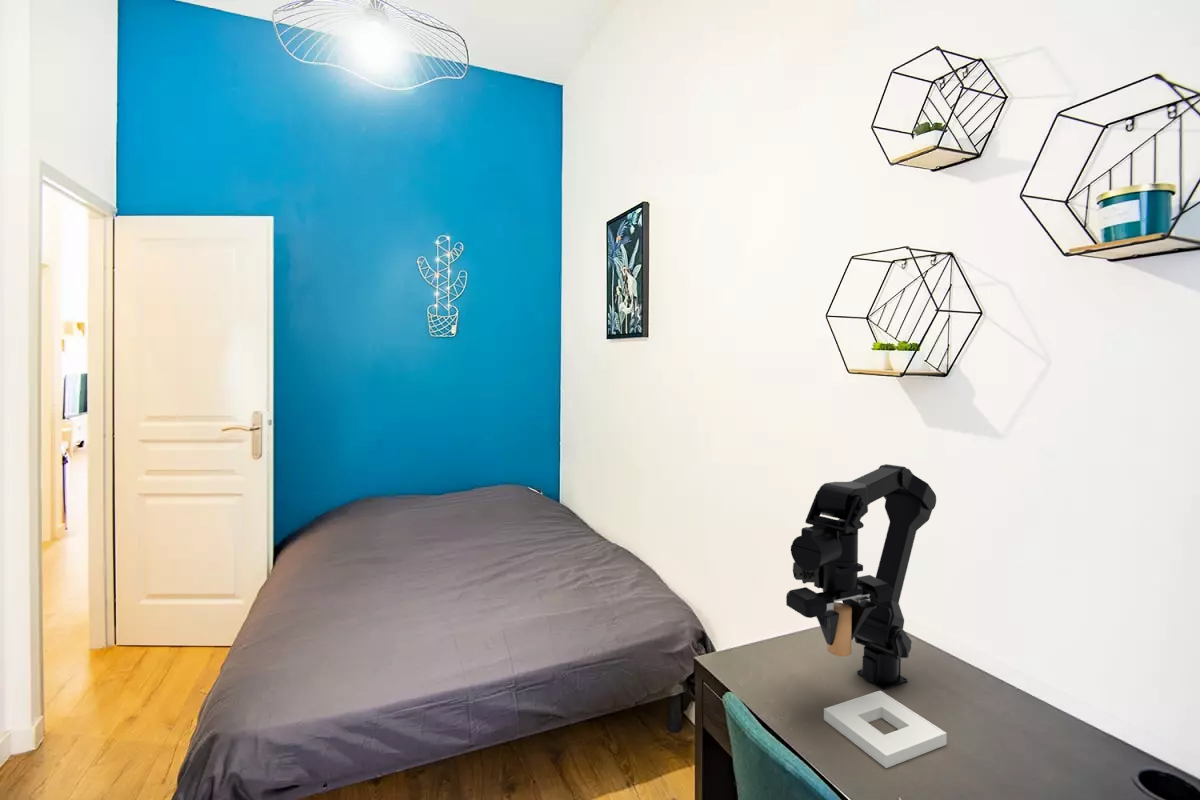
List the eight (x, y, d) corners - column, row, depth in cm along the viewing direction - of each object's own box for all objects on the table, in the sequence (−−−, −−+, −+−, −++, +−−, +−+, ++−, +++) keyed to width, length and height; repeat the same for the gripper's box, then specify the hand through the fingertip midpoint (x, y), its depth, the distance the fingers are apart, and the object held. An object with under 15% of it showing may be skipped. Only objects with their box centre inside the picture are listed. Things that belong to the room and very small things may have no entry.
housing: (880, 701, 106) (880, 690, 106) (946, 744, 94) (946, 732, 94) (823, 719, 101) (823, 708, 101) (886, 768, 89) (886, 755, 89)
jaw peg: (839, 643, 107) (840, 600, 106) (856, 653, 103) (856, 609, 102) (822, 647, 105) (822, 604, 105) (838, 658, 101) (838, 613, 101)
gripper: (848, 536, 113) (848, 614, 115) (767, 549, 107) (767, 631, 108) (895, 554, 103) (894, 639, 104) (807, 570, 97) (807, 661, 98)
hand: (839, 641), depth 104 cm, fingers closed on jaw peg, 4 cm apart
